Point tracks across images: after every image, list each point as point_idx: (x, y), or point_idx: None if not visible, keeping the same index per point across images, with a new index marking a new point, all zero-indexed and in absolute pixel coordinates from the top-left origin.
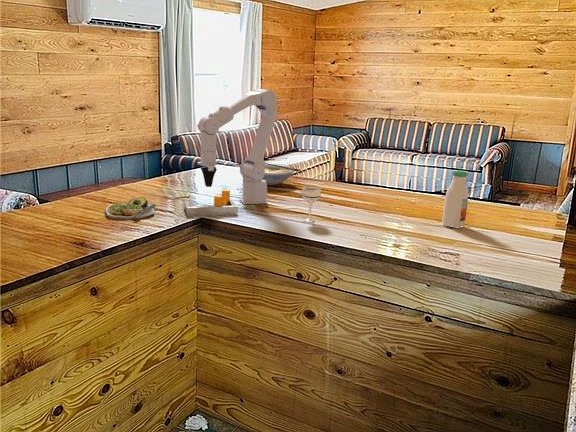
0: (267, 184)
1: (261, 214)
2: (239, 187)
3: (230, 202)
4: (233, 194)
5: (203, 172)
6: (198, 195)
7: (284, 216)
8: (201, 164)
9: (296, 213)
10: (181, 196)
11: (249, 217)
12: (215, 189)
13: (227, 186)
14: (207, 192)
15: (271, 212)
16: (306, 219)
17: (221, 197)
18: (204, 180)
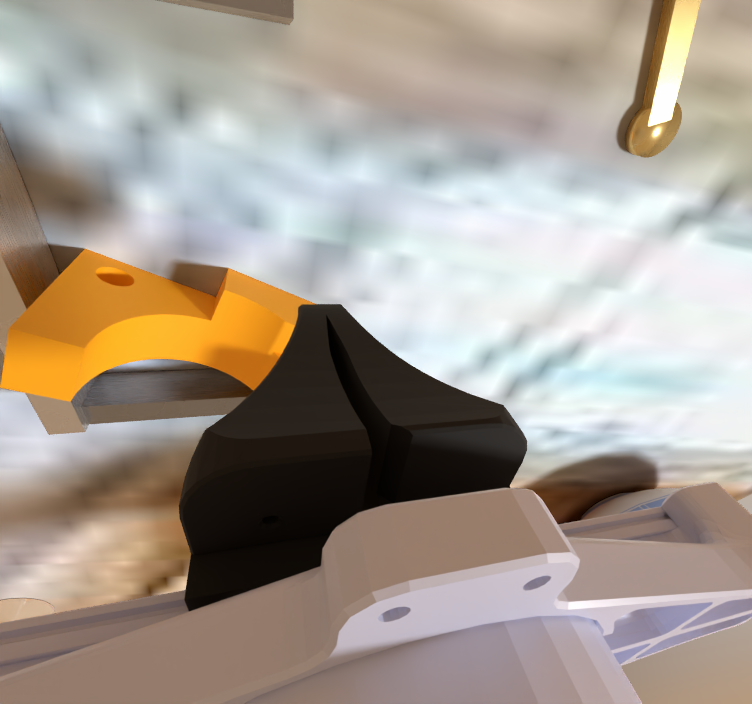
0: (589, 512)
1: (105, 488)
2: (634, 432)
3: (228, 398)
4: (540, 405)
5: (220, 425)
6: (629, 226)
7: (80, 554)
8: (276, 602)
9: (147, 579)
10: (661, 65)
11: (9, 442)
12: (677, 340)
13: (683, 393)
14: (654, 293)
15: (157, 519)
16: (8, 613)
17: (25, 387)
18: (344, 331)
